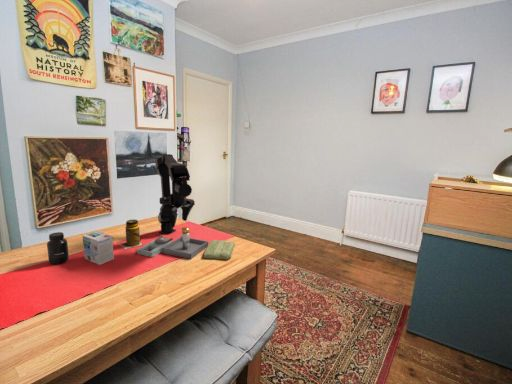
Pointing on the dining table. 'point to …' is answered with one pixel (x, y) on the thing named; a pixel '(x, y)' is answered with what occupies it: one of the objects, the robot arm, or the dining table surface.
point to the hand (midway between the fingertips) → (179, 223)
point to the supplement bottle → (57, 248)
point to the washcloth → (219, 249)
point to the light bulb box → (98, 247)
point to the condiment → (132, 234)
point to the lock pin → (185, 238)
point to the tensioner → (154, 246)
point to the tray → (177, 250)
